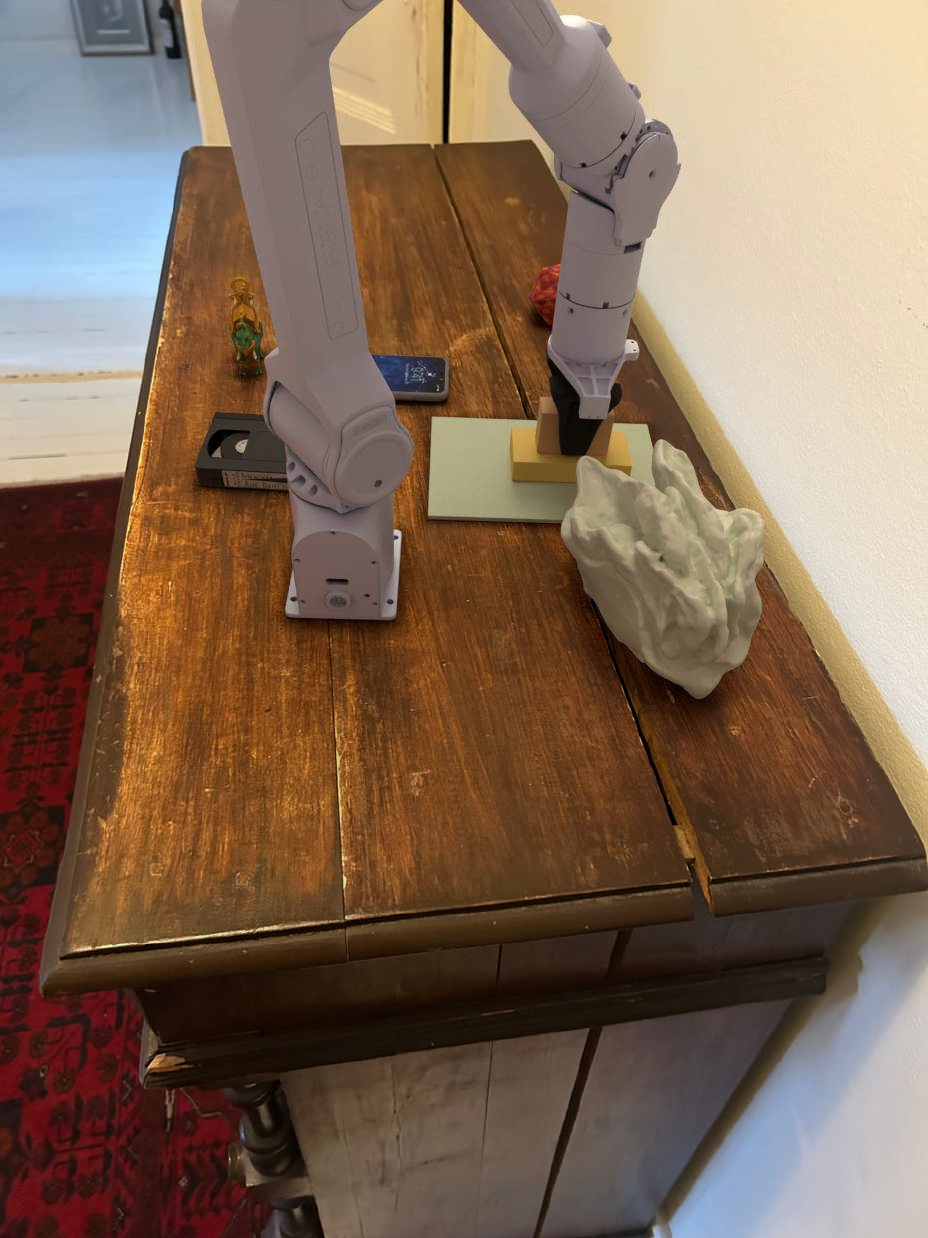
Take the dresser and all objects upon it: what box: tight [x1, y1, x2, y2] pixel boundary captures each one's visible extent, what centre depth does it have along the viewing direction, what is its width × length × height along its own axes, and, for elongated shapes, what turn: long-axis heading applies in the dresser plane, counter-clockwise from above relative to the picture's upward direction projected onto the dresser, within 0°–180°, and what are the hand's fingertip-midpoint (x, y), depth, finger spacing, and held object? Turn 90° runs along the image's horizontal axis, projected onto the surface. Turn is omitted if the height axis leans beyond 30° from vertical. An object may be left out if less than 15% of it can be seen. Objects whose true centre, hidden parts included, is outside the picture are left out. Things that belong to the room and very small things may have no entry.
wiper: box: [510, 396, 632, 483], centre depth 73 cm, size 5×10×6 cm, turn 90°
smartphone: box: [370, 353, 450, 402], centre depth 84 cm, size 7×1×15 cm
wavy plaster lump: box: [560, 438, 767, 700], centre depth 60 cm, size 18×13×16 cm
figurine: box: [228, 276, 264, 376], centre depth 83 cm, size 3×12×8 cm, turn 9°
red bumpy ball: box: [528, 263, 561, 327], centre depth 92 cm, size 6×7×8 cm
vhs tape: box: [194, 411, 289, 492], centre depth 74 cm, size 14×8×2 cm, turn 88°
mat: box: [427, 416, 655, 524], centre depth 76 cm, size 14×20×1 cm
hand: (571, 442), depth 74 cm, fingers closed on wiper, 2 cm apart
